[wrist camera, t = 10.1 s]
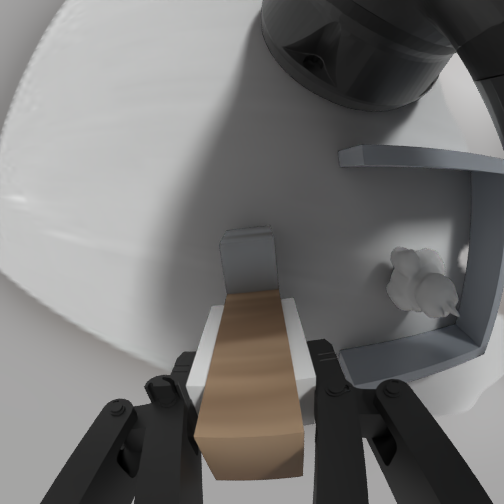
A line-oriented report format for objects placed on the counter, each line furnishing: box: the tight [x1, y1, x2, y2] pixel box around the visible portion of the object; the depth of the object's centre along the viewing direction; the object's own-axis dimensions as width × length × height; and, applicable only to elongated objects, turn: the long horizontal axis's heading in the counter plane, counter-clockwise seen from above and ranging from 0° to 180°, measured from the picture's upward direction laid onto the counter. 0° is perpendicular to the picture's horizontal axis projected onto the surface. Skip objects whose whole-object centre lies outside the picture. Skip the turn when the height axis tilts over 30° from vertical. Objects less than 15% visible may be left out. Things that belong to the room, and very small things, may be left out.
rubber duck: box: [386, 247, 460, 318], centre depth 17 cm, size 5×7×8 cm
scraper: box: [194, 226, 304, 480], centre depth 13 cm, size 9×3×14 cm, turn 7°
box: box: [338, 144, 504, 389], centre depth 18 cm, size 18×15×5 cm
